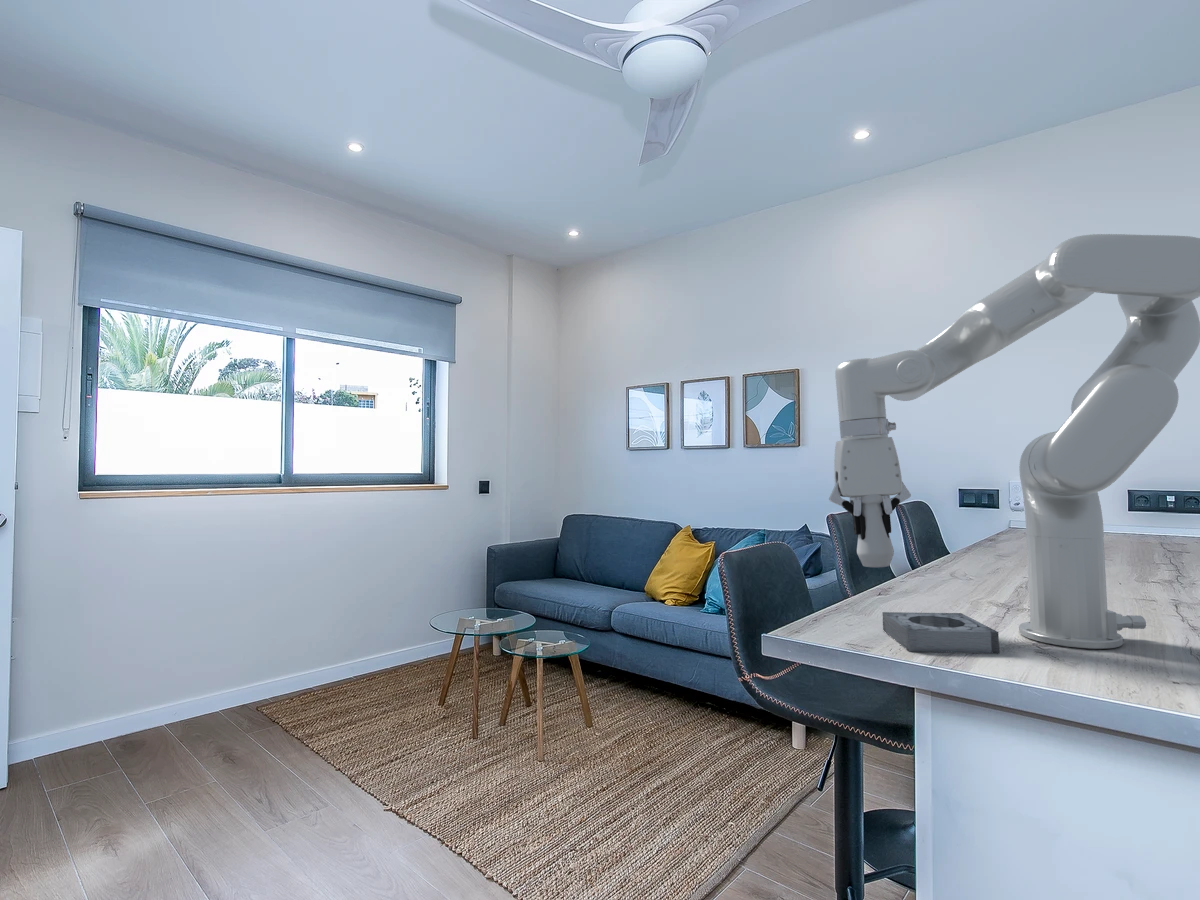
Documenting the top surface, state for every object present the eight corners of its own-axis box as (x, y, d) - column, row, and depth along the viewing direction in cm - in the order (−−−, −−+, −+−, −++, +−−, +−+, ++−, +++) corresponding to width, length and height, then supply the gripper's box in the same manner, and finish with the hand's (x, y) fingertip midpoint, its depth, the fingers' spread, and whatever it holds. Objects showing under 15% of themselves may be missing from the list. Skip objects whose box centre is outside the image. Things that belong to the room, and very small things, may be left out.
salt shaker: (888, 562, 107) (881, 488, 107) (900, 567, 101) (893, 488, 102) (853, 564, 107) (846, 490, 108) (863, 568, 101) (856, 490, 102)
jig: (961, 631, 98) (961, 613, 98) (999, 653, 86) (998, 632, 87) (883, 630, 100) (882, 612, 100) (909, 651, 88) (908, 630, 88)
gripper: (906, 429, 108) (915, 534, 107) (810, 436, 110) (818, 538, 109) (921, 425, 101) (932, 538, 99) (819, 433, 103) (828, 542, 102)
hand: (872, 537), depth 104 cm, fingers closed on salt shaker, 3 cm apart
